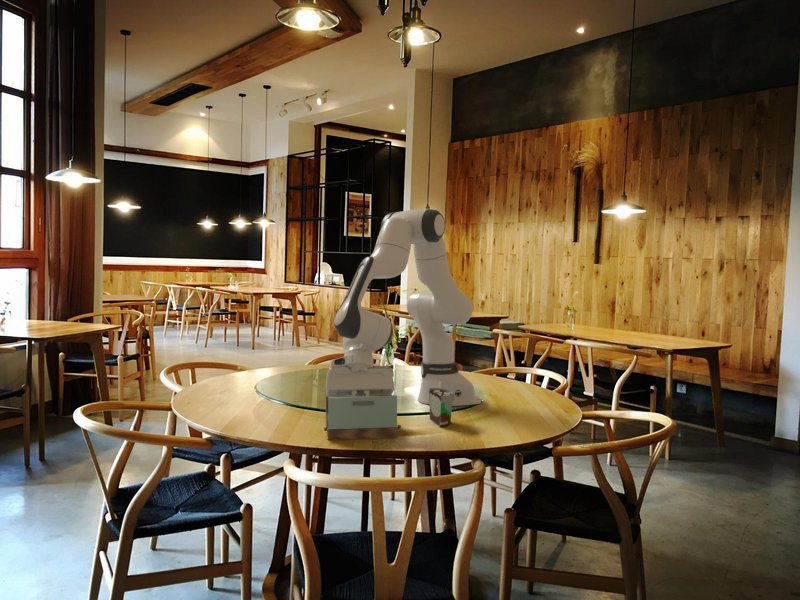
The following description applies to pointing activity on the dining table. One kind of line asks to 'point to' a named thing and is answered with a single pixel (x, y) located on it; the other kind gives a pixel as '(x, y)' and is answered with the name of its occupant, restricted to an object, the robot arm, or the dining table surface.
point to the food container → (441, 406)
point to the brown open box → (359, 432)
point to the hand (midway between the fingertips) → (361, 406)
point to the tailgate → (362, 412)
